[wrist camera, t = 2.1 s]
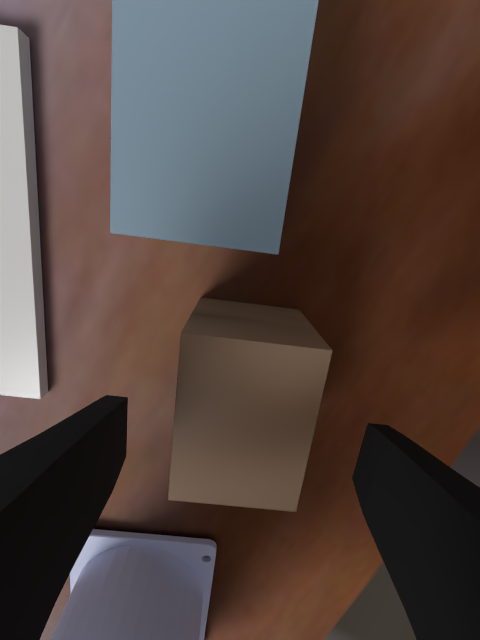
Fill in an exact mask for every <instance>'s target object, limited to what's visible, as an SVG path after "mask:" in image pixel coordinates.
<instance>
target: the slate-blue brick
mask: <svg viewBox="0 0 480 640" xmlns="http://www.w3.org/2000/svg"><path fill="white" fill-rule="evenodd" d="M318 1H319V0H112V93H111V208H110V233H116V234H123V235H131V236H139V237H146V238H154V239H162V240H170V241H177V242H185V243H193V244H200V245H208V246H216V247H223V248H231V249H239V250H247V251H254V252H262V253H270V254H277V255H278V253H279V247H280V241H281V234H282V228H283V222H284V216H285V209H286V203H287V197H288V190H289V184H290V178H291V171H292V165H293V159H294V153H295V146H296V140H297V134H298V127H299V121H300V115H301V108H302V102H303V96H304V90H305V83H306V77H307V71H308V64H309V58H310V52H311V45H312V39H313V33H314V27H315V20H316V14H317V8H318Z"/></svg>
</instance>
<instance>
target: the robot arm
mask: <svg viewBox="0 0 480 640" xmlns="http://www.w3.org/2000/svg"><path fill="white" fill-rule="evenodd" d="M127 405H128V397H118V396H109V395H106V396H104V397H102V398H100V399H99V400H97V401H95V402H93V403H92V404H90V405H88V406H87V407H85V408H83V409H82V410H80V411H78V412H76V413H75V414H73V415H71V416H70V417H68V418H66V419H65V420H63V421H61V422H59V423H58V424H56V425H54V426H52V427H51V428H49V429H47V430H46V431H44V432H42V433H40V434H38V435H37V436H35V437H33V438H31V439H29V440H27V441H25V442H23V443H21V444H20V445H18V446H16V447H14V448H12V449H10V450H8V451H6V452H5V453H3V454H1V455H0V640H39V639H40V637H41V635H42V632H43V630H44V628H45V626H46V623H47V621H48V619H49V616H50V614H51V612H52V609H53V607H54V605H55V602H56V600H57V598H58V596H59V594H60V592H61V590H62V588H63V586H64V584H65V582H66V580H67V578H68V576H69V574H70V590H71V594H70V597H69V599H68V601H67V603H66V605H65V607H64V610H63V612H62V614H61V616H60V618H59V620H58V623H57V625H56V627H55V629H54V631H53V633H52V636H51V638H50V640H204V636H205V629H206V622H207V615H208V608H209V601H210V594H211V586H212V579H213V572H214V565H215V558H216V550H217V545H216V543H215V542H214V541H213V540H211V539H203V538H191V537H179V536H168V535H156V534H145V533H133V532H122V531H110V530H99V529H93V528H94V526H95V524H96V522H97V520H98V518H99V517H100V515H101V513H102V511H103V509H104V507H105V505H106V503H107V501H108V499H109V497H110V495H111V493H112V491H113V489H114V486H115V484H116V481H117V479H118V476H119V474H120V471H121V468H122V466H123V463H124V460H125V458H126V443H127ZM352 479H353V482H354V486H355V489H356V493H357V496H358V500H359V503H360V506H361V509H362V512H363V515H364V517H365V520H366V522H367V524H368V527H369V529H370V531H371V534H372V536H373V538H374V541H375V543H376V545H377V547H378V550H379V552H380V554H381V556H382V559H383V561H384V563H385V566H386V568H387V570H388V572H389V574H390V577H391V579H392V581H393V583H394V586H395V588H396V590H397V593H398V595H399V597H400V599H401V602H402V604H403V606H404V608H405V611H406V613H407V616H408V618H409V621H410V623H411V626H412V628H413V631H414V633H415V636H416V639H417V640H480V488H479V487H478V486H476V485H475V484H473V483H472V482H470V481H469V480H467V479H466V478H464V477H463V476H462V475H460V474H459V473H457V472H456V471H454V470H453V469H452V468H450V467H449V466H447V465H446V464H444V463H443V462H442V461H440V460H439V459H437V458H436V457H434V456H433V455H432V454H430V453H429V452H427V451H426V450H424V449H423V448H422V447H420V446H419V445H417V444H416V443H414V442H413V441H412V440H410V439H409V438H407V437H406V436H404V435H403V434H401V433H400V432H398V431H396V430H395V429H393V428H391V427H390V426H388V425H380V424H371V423H368V425H367V428H366V432H365V435H364V439H363V442H362V446H361V449H360V453H359V456H358V460H357V463H356V467H355V470H354V474H353V477H352Z"/></svg>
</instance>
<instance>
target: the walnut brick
mask: <svg viewBox="0 0 480 640" xmlns="http://www.w3.org/2000/svg"><path fill="white" fill-rule="evenodd" d="M332 351H333V350H332V349H331V348H330V347H329V346H328V344H327V343H326V342H325V341H324V339H323V338H322V337H321V336H320V334H319V333H318V332H317V331H316V330H315V328H314V327H313V326H312V325H311V323H310V322H309V321H308V320H307V318H306V317H305V316H304V315H303V314H302V312H301V311H300V310H299V309H291V308H283V307H275V306H267V305H259V304H250V303H242V302H234V301H226V300H218V299H209V298H200V300H199V301H198V303H197V305H196V307H195V309H194V310H193V312H192V314H191V316H190V318H189V319H188V321H187V323H186V325H185V326H184V328H183V330H182V332H181V339H180V352H179V364H178V377H177V390H176V403H175V416H174V429H173V442H172V455H171V468H170V480H169V493H168V500H174V501H184V502H195V503H206V504H217V505H228V506H239V507H249V508H260V509H271V510H282V511H293V512H296V510H297V505H298V501H299V496H300V492H301V488H302V483H303V479H304V474H305V470H306V465H307V461H308V457H309V452H310V448H311V443H312V439H313V435H314V430H315V426H316V421H317V417H318V412H319V408H320V404H321V399H322V395H323V390H324V386H325V382H326V377H327V373H328V368H329V364H330V359H331V355H332Z"/></svg>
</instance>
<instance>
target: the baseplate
mask: <svg viewBox="0 0 480 640" xmlns="http://www.w3.org/2000/svg"><path fill="white" fill-rule="evenodd" d="M47 393H48V378H47V359H46V341H45V322H44V303H43V285H42V266H41V247H40V228H39V210H38V191H37V172H36V154H35V135H34V116H33V97H32V79H31V60H30V41H29V38H28V37H27V36H26V35H25V34H24V33H23V32H22V31H21V30H20V29H19V28H18V27H12V26H6V25H0V395H7V396H16V397H26V398H35V399H41V398H42V397H43V396H45V395H46V394H47Z"/></svg>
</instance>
